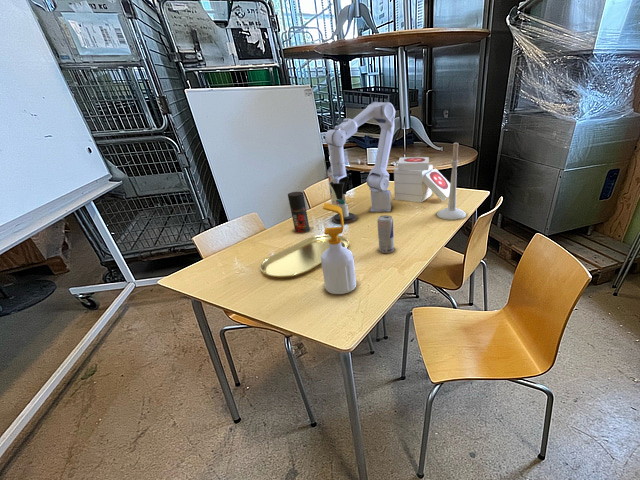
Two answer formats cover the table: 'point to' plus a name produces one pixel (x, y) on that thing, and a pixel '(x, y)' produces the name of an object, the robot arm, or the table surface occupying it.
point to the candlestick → (452, 193)
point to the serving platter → (298, 257)
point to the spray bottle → (345, 211)
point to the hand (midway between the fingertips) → (341, 196)
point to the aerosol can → (332, 193)
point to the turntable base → (345, 220)
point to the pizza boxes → (418, 180)
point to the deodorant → (298, 212)
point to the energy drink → (385, 234)
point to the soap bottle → (337, 259)
